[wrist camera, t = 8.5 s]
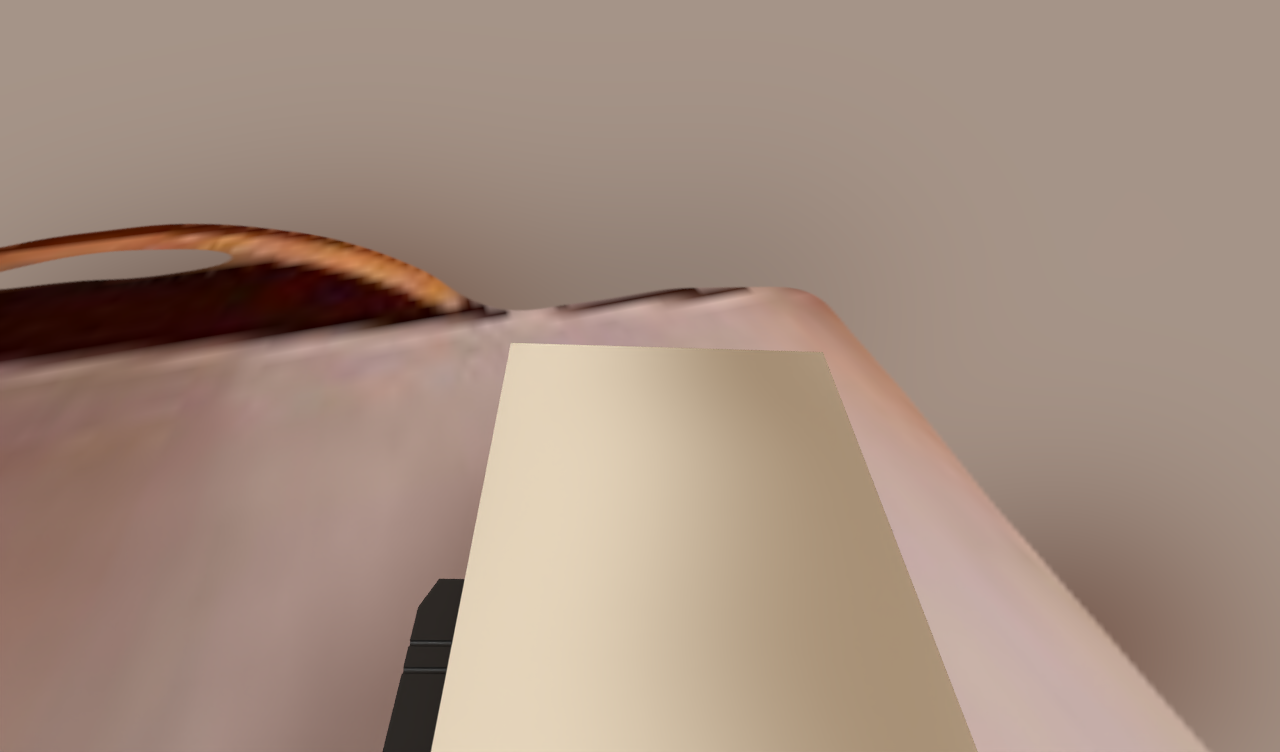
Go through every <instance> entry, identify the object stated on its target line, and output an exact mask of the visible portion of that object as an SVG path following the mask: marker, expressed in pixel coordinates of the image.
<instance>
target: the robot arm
mask: <svg viewBox="0 0 1280 752" xmlns="http://www.w3.org/2000/svg"><path fill="white" fill-rule="evenodd" d="M464 580H465V579H439V580H438V581H437V583H436V584H435V585H434V587H433V588H432V589H431V591H430V592H429V593H428V595H427V596H426V597H425V599H424V600H423V601H422V603H421V604H420V606H419V607H418V610H417V614H416V618H415V623H414V627H413V631H412V635H411V639H410V646H409V647H408V651H407V655H406V659H405V663H404V671H403V674H402V675H401V679H400V683H399V687H398V691H397V695H396V700H395V704H394V708H393V712H392V716H391V720H390V724H389V728H388V732H387V736H386V740H385V744H384V748H383V752H431V749H432V744H433V739H434V734H435V729H436V724H437V718H438V713H439V708H440V703H441V698H442V693H443V688H444V683H445V678H446V672H447V667H448V662H449V657H450V652H451V647H452V642H453V637H454V632H455V626H456V621H457V616H458V611H459V606H460V601H461V596H462V591H463V586H464Z"/></svg>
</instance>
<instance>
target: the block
mask: <svg viewBox="0 0 1280 752" xmlns="http://www.w3.org/2000/svg"><path fill="white" fill-rule="evenodd" d="M431 752H978V751H977V749H976V746H975V744H974V741H973V738H972V736H971V733H970V731H969V728H968V726H967V723H966V720H965V718H964V715H963V713H962V710H961V707H960V705H959V702H958V700H957V697H956V695H955V692H954V689H953V687H952V684H951V682H950V679H949V677H948V674H947V671H946V669H945V666H944V664H943V661H942V658H941V656H940V653H939V651H938V648H937V646H936V643H935V640H934V638H933V635H932V633H931V630H930V627H929V625H928V622H927V620H926V617H925V615H924V612H923V609H922V607H921V604H920V602H919V599H918V597H917V594H916V591H915V589H914V586H913V584H912V581H911V578H910V576H909V573H908V571H907V568H906V566H905V563H904V560H903V558H902V555H901V553H900V550H899V547H898V545H897V542H896V540H895V537H894V535H893V532H892V529H891V527H890V524H889V522H888V519H887V517H886V514H885V511H884V509H883V506H882V504H881V501H880V498H879V496H878V493H877V491H876V488H875V486H874V483H873V480H872V478H871V475H870V473H869V470H868V467H867V465H866V462H865V460H864V457H863V455H862V452H861V449H860V447H859V444H858V442H857V439H856V437H855V434H854V431H853V429H852V426H851V424H850V421H849V418H848V416H847V413H846V411H845V408H844V406H843V403H842V400H841V398H840V395H839V393H838V390H837V387H836V385H835V382H834V380H833V377H832V375H831V372H830V369H829V367H828V364H827V362H826V359H825V357H824V354H823V352H798V351H765V350H731V349H697V348H663V347H630V346H596V345H562V344H528V343H511V345H510V350H509V355H508V361H507V366H506V371H505V376H504V381H503V386H502V391H501V396H500V401H499V407H498V412H497V417H496V422H495V427H494V432H493V437H492V442H491V448H490V453H489V458H488V463H487V468H486V473H485V478H484V483H483V488H482V494H481V499H480V504H479V509H478V514H477V519H476V524H475V529H474V534H473V540H472V545H471V550H470V555H469V560H468V565H467V570H466V575H465V580H464V586H463V591H462V596H461V601H460V606H459V611H458V616H457V621H456V626H455V632H454V637H453V642H452V647H451V652H450V657H449V662H448V667H447V672H446V678H445V683H444V688H443V693H442V698H441V703H440V708H439V713H438V718H437V724H436V729H435V734H434V739H433V744H432V749H431Z"/></svg>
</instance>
